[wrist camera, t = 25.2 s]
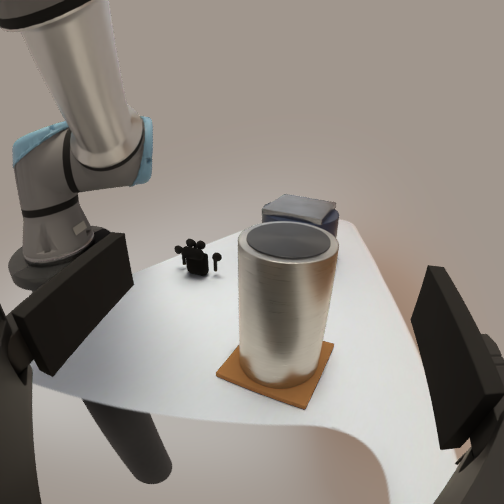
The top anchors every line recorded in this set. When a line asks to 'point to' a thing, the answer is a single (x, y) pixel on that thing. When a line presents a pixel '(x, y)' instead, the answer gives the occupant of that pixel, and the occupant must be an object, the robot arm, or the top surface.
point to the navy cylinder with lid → (302, 212)
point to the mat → (291, 396)
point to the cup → (283, 300)
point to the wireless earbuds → (196, 257)
